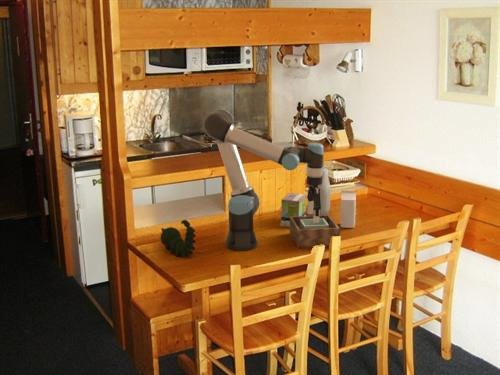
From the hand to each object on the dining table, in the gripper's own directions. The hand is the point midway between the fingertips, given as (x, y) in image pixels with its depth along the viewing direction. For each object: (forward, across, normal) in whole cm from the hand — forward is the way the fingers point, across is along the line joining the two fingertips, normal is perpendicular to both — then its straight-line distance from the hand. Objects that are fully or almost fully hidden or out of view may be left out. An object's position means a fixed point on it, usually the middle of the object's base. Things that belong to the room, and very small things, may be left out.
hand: (313, 218), depth 321 cm
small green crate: (+10, 0, -1) cm, 10 cm away
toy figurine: (+13, -9, +66) cm, 68 cm away
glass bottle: (+11, +39, -13) cm, 42 cm away
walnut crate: (+11, 0, -1) cm, 11 cm away
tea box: (+12, +28, +4) cm, 30 cm away
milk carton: (+11, +19, -23) cm, 31 cm away
